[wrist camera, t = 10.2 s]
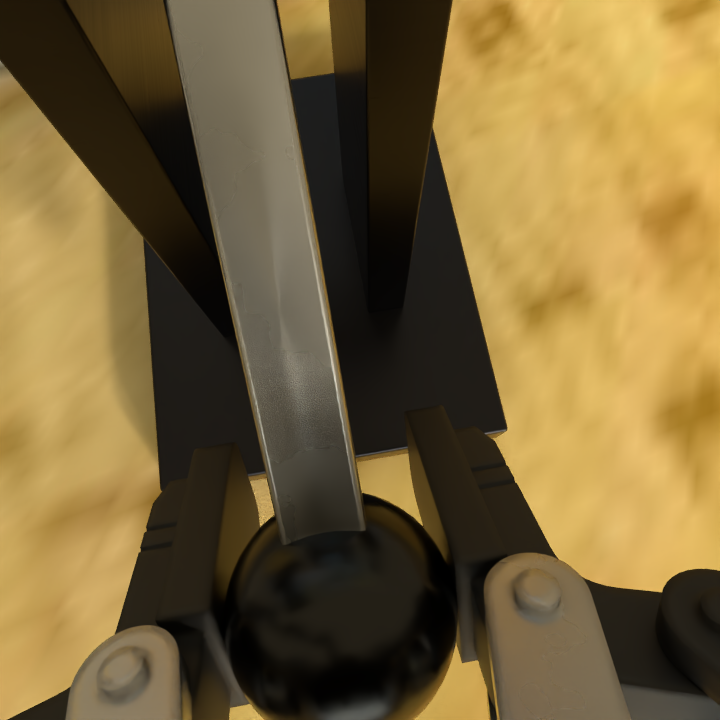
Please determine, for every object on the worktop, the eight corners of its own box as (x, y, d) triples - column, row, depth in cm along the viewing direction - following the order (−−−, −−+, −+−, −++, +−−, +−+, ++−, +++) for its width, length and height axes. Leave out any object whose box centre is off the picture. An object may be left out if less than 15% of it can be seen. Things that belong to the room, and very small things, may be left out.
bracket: (498, 437, 15) (1374, -110, 2) (175, 494, 15) (-1367, 304, 2) (413, 87, 19) (523, -998, 5) (147, 128, 18) (-444, -908, 5)
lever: (442, 607, 10) (500, 789, 7) (262, 640, 10) (234, 840, 6) (312, -328, 6) (304, -843, 3) (39, -292, 6) (-229, -785, 3)
